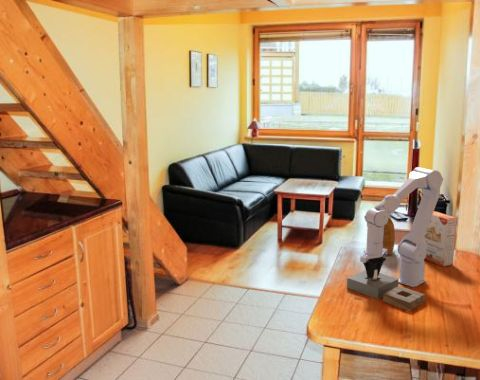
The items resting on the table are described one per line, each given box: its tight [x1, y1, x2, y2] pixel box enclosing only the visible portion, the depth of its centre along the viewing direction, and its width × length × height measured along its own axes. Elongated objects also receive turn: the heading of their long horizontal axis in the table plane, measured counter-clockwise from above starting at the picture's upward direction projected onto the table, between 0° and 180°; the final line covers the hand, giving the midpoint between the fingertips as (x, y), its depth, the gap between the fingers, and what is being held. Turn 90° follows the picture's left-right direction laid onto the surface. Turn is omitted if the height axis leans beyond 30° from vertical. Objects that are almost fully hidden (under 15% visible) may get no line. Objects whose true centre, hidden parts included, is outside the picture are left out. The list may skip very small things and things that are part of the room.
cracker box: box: [424, 210, 458, 268], centre depth 210 cm, size 14×6×21 cm, turn 25°
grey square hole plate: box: [346, 269, 399, 300], centre depth 182 cm, size 13×13×4 cm
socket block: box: [382, 285, 426, 312], centre depth 171 cm, size 10×10×3 cm
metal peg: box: [369, 268, 378, 282], centre depth 181 cm, size 3×3×7 cm
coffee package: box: [383, 217, 396, 256], centre depth 222 cm, size 10×12×22 cm
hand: (372, 276), depth 181 cm, fingers closed on metal peg, 3 cm apart
